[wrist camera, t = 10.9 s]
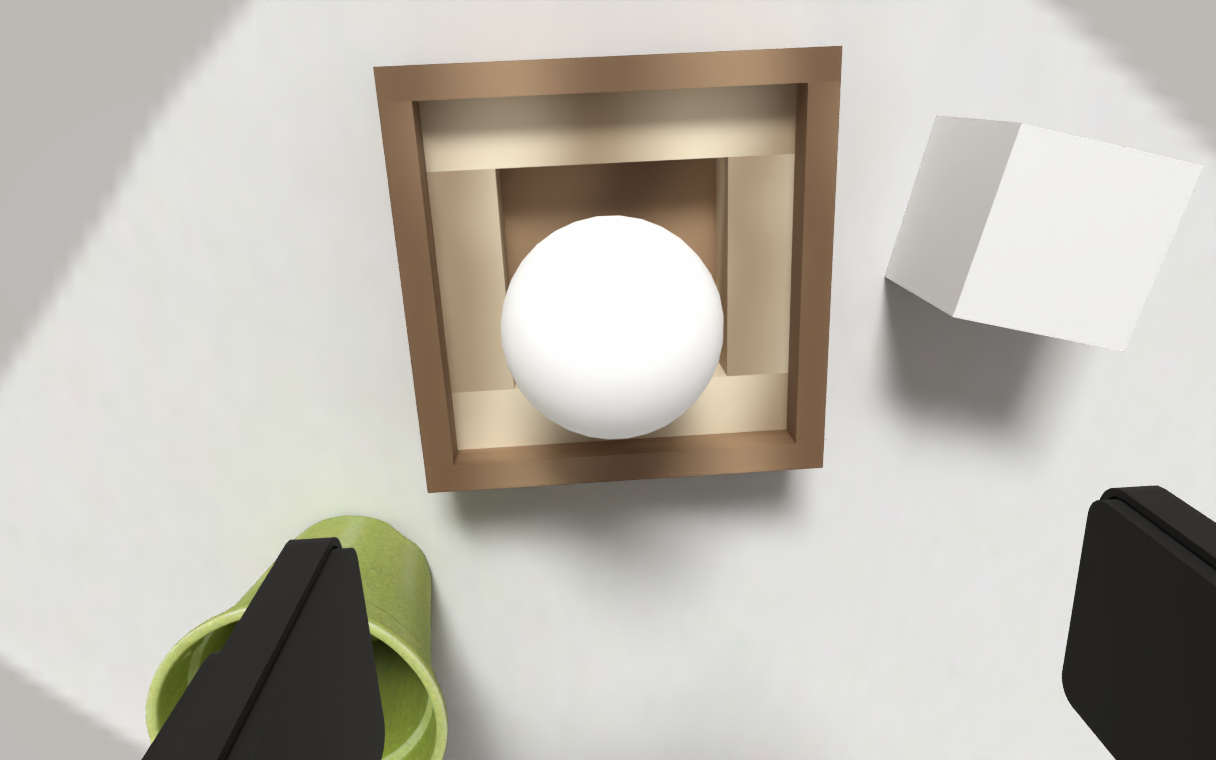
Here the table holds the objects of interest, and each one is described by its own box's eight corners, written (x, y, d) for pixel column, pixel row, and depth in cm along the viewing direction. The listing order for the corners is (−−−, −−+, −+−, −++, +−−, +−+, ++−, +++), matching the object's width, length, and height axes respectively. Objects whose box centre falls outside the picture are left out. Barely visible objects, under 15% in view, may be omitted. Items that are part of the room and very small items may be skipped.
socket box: (805, 50, 29) (842, 45, 25) (793, 424, 34) (822, 467, 30) (397, 69, 29) (373, 67, 25) (442, 446, 33) (428, 493, 29)
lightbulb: (656, 366, 32) (702, 499, 22) (498, 328, 31) (468, 447, 21) (703, 209, 30) (778, 272, 20) (537, 164, 29) (525, 205, 19)
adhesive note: (1027, 305, 33) (1124, 353, 27) (883, 275, 32) (952, 318, 26) (1086, 149, 31) (1204, 165, 25) (935, 114, 30) (1021, 122, 25)
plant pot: (483, 662, 37) (463, 827, 29) (266, 681, 36) (182, 854, 28) (458, 468, 34) (426, 593, 25) (220, 487, 33) (110, 619, 25)
